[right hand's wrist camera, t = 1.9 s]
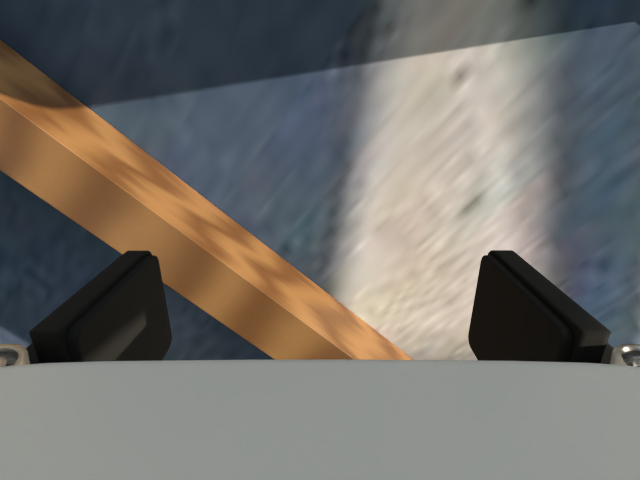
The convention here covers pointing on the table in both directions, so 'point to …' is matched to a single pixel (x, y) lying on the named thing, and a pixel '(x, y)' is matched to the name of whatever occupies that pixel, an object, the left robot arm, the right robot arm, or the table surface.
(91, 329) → the right robot arm
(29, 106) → the beam
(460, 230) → the table surface
